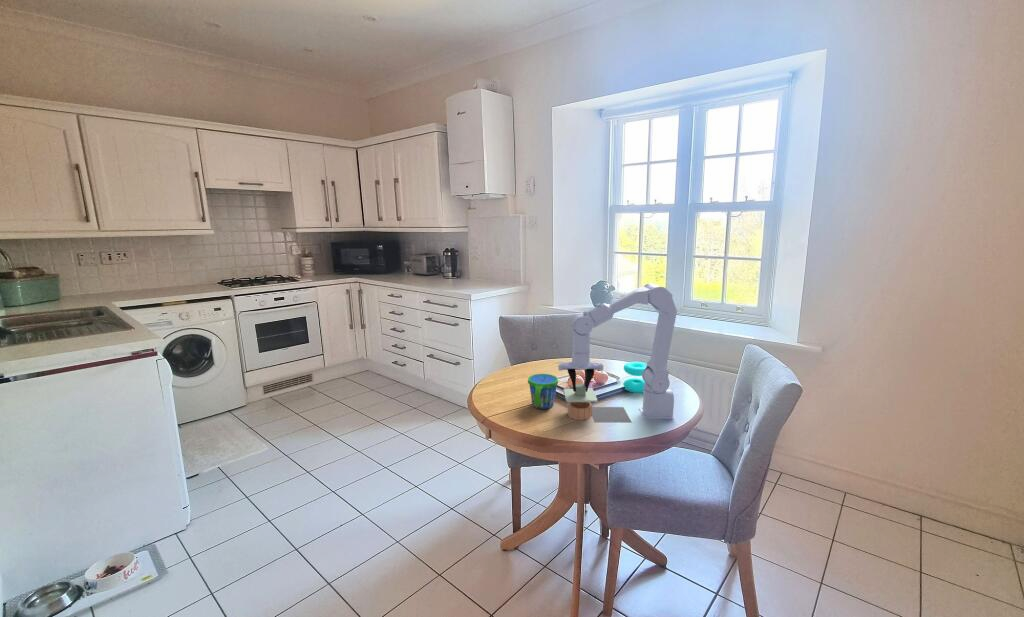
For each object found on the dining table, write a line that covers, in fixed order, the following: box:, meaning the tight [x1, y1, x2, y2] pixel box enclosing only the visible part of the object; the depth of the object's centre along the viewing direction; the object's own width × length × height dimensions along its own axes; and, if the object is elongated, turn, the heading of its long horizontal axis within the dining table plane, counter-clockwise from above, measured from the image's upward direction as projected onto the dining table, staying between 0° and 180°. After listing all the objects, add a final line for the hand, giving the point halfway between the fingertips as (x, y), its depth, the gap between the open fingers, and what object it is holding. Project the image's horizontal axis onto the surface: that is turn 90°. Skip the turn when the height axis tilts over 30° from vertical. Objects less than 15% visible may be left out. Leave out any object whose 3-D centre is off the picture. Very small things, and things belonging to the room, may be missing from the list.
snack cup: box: [527, 373, 559, 410], centre depth 153 cm, size 16×10×10 cm
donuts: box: [622, 361, 647, 394], centre depth 168 cm, size 10×10×10 cm
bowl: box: [566, 402, 593, 421], centre depth 146 cm, size 8×8×4 cm
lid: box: [563, 383, 599, 403], centre depth 144 cm, size 10×10×4 cm
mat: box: [591, 406, 633, 423], centre depth 146 cm, size 12×12×1 cm
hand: (580, 390), depth 144 cm, fingers closed on lid, 3 cm apart
